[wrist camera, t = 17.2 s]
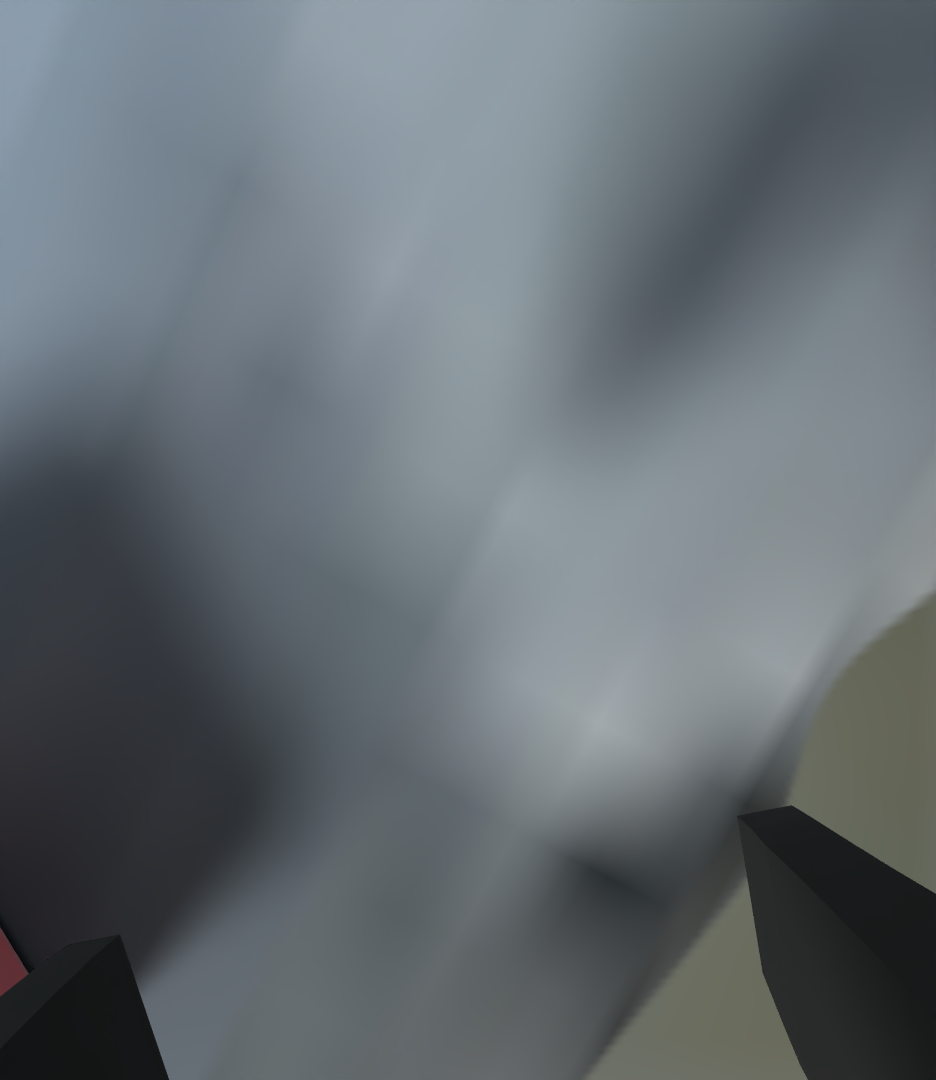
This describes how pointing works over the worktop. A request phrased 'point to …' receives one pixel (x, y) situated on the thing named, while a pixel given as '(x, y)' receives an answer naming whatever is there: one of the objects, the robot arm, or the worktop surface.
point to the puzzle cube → (9, 965)
